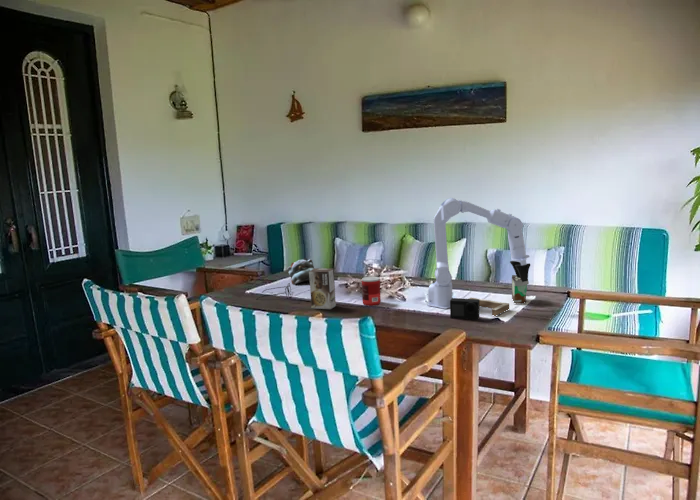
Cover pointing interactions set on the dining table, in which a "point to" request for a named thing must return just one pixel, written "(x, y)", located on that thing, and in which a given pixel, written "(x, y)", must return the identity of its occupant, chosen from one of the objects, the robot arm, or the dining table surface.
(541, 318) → the dining table surface
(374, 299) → the canned food
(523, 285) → the food container
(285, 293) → the glasses
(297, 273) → the grey lumpy clump
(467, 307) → the digital camera
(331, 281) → the coffee box
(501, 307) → the frame
